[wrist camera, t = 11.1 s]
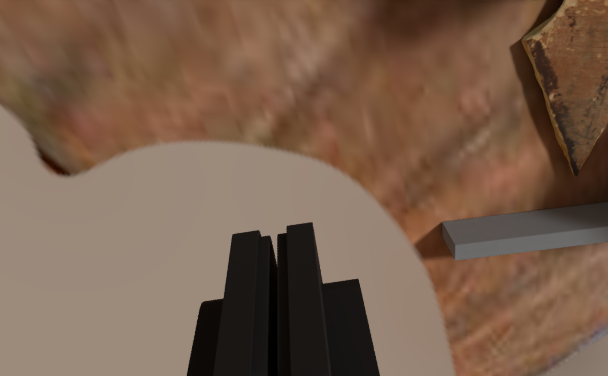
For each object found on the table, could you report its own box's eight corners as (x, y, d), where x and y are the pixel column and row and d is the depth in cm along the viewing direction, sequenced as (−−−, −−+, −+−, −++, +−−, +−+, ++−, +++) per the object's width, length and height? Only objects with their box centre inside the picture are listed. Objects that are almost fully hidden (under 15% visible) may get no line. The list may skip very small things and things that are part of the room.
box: (443, -46, 29) (460, -44, 26) (700, -79, 28) (744, -80, 26) (442, 236, 37) (455, 260, 34) (641, 212, 37) (670, 234, 34)
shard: (565, 167, 35) (578, 179, 34) (466, 134, 34) (475, 144, 32) (662, 10, 31) (683, 15, 29) (552, -35, 30) (568, -33, 28)
